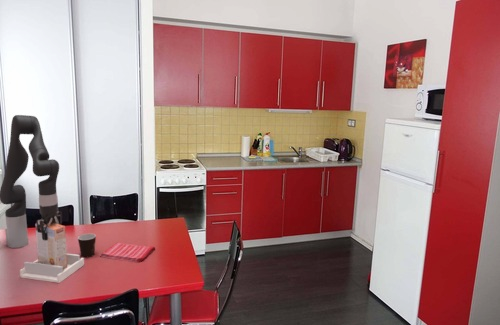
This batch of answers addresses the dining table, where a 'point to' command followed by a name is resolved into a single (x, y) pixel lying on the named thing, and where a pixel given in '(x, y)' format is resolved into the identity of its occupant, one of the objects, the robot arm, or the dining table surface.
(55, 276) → the white shallow tray
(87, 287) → the dining table surface
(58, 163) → the robot arm
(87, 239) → the coffee mug
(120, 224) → the dining table surface
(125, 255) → the dish towel
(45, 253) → the cracker box
